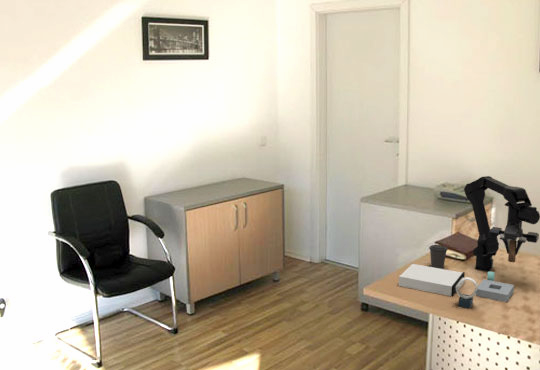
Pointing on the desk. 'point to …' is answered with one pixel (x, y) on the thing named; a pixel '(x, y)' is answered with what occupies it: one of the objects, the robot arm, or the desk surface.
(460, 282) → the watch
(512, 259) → the walnut pin
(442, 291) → the disc drive
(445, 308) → the desk surface
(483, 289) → the block
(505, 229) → the robot arm
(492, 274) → the teal pin
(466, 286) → the desk surface
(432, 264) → the coffee cup
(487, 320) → the desk surface
